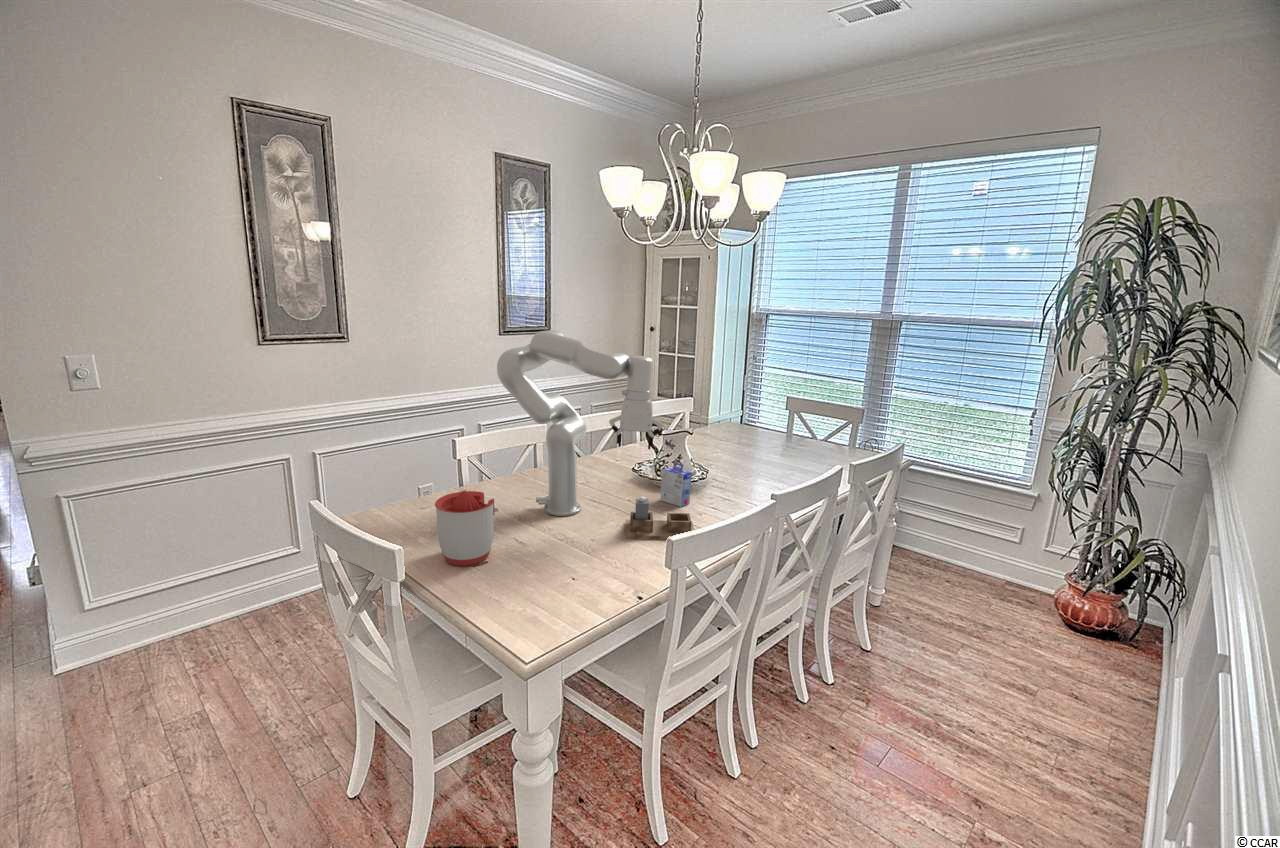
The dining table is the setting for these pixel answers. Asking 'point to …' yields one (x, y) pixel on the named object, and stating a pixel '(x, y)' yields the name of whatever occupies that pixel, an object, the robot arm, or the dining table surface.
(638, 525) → the socket board
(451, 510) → the citrus juicer
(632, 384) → the robot arm
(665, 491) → the ink cartridge box
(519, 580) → the dining table surface
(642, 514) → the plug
